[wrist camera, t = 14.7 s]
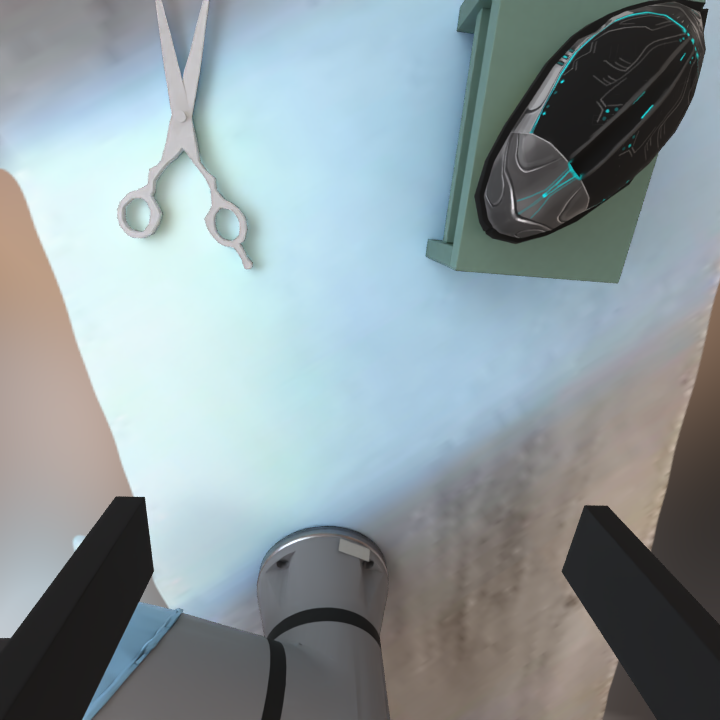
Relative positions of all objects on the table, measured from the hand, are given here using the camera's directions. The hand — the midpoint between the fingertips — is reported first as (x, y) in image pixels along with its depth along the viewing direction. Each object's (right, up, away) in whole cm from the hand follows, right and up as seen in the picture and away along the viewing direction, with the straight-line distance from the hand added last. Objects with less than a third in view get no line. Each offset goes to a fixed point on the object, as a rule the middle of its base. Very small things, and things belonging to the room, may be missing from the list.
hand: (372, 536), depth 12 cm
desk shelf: (+12, +23, +21) cm, 33 cm away
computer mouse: (+13, +20, +13) cm, 27 cm away
